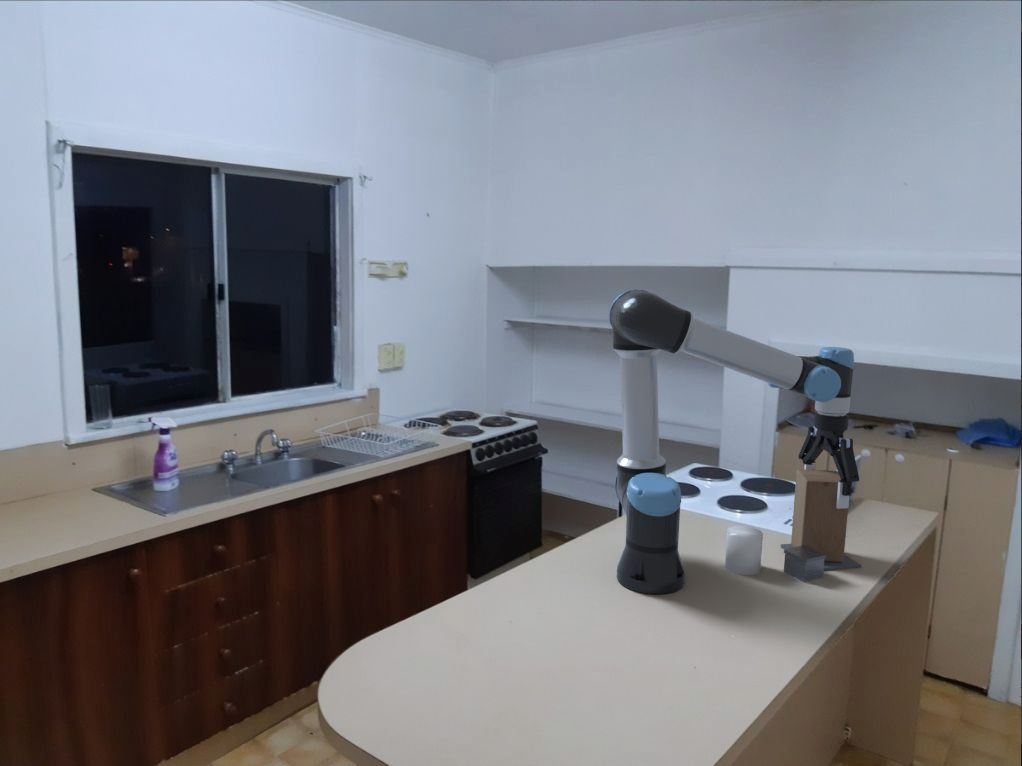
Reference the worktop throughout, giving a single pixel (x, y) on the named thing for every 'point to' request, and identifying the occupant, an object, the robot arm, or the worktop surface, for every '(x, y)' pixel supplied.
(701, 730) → the worktop surface
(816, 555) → the tea tin
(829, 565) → the mat
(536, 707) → the worktop surface
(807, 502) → the wooden block
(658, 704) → the worktop surface
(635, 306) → the robot arm
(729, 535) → the white rounded cylinder
